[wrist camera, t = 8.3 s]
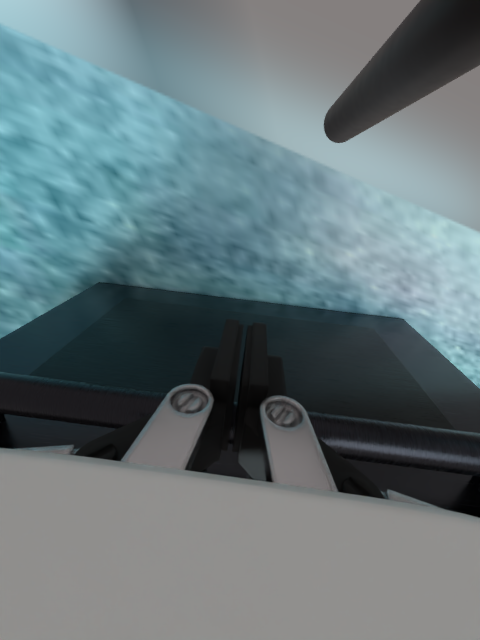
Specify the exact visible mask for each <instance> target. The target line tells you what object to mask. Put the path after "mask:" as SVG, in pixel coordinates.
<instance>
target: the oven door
mask: <svg viewBox="0 0 480 640" xmlns="http://www.w3.org/2000/svg"><path fill="white" fill-rule="evenodd" d="M226 319H233V320H239V324H244V328H243V336H242V343H241V351H240V359H239V367H238V374H237V382H236V390H235V397H234V405H233V412H232V419H231V427H230V434H229V442H228V449H227V451H223V450H221V455H220V461H219V460H218V461H216V462H215V463H213V464H212V465H210V466H209V467H208V470H207V473H209V474H216V475H223V476H230V477H237V478H244V479H247V471H246V470H245V469H244V468H243V467H242V466H241V465H240V463H237V458H238V453H237V452H232V448H233V439H234V430H235V421H236V412H237V403H238V394H239V385H240V377H241V370H242V362H243V355H244V348H245V341H246V334H247V327H248V325H252V326H253V322H256V323H263V324H266V330H267V355H274V356H281V357H282V360H283V368H284V375H285V383H286V391H287V397H289V398H292V399H294V400H295V401H297V402H299V403H300V404H301V405H302V406H303V407H304V409H305V410H306V412H307V414H308V417H309V419H310V422H311V424H312V427H313V429H314V432H315V434H316V436H317V437H318V438H320V439H321V440H322V441H323V442H325V443H326V444H327V445H328V446H330V447H331V448H332V449H333V450H334V451H336V452H337V453H338V454H339V455H341V456H342V457H343V458H344V459H346V460H347V461H348V462H349V463H350V464H352V465H353V466H354V467H355V468H357V469H358V470H359V471H360V472H361V473H363V474H364V475H365V476H366V477H368V478H369V479H370V480H371V481H372V482H373V483H374V484H375V485H376V486H377V487H378V488H379V490H380V491H382V492H384V493H385V491H386V490H387V489H389V490H392V491H395V492H397V493H400V494H403V495H406V496H409V497H412V498H414V499H417V500H420V501H423V502H426V503H429V504H431V505H434V506H437V507H440V508H443V509H446V510H449V511H453V512H458V513H463V514H467V515H471V516H475V517H478V518H480V389H479V388H478V387H477V386H476V385H475V384H474V383H473V382H472V381H470V380H469V379H468V378H467V377H466V376H465V375H464V374H463V373H462V372H461V371H459V370H458V369H457V368H456V367H455V366H454V365H453V364H452V363H451V362H450V361H449V360H447V359H446V358H445V357H444V356H443V355H442V354H441V353H440V352H439V351H438V350H437V349H435V348H434V347H433V346H432V345H431V344H430V343H429V342H428V341H427V340H426V339H424V338H423V337H422V336H421V335H420V334H419V333H418V332H417V331H416V330H415V329H414V328H412V327H411V326H410V325H409V324H408V323H407V322H406V321H405V320H404V319H398V318H389V317H381V316H373V315H365V314H356V313H348V312H340V311H332V310H323V309H315V308H307V307H298V306H290V305H282V304H274V303H265V302H257V301H249V300H241V299H232V298H224V297H216V296H208V295H199V294H191V293H183V292H175V291H166V290H158V289H150V288H141V287H133V286H125V285H117V284H108V283H100V282H99V283H97V284H95V285H93V286H92V287H90V288H88V289H87V290H85V291H83V292H81V293H80V294H78V295H76V296H74V297H73V298H71V299H69V300H67V301H66V302H64V303H62V304H60V305H59V306H57V307H55V308H53V309H52V310H50V311H48V312H46V313H45V314H43V315H41V316H39V317H38V318H36V319H34V320H32V321H31V322H29V323H27V324H26V325H24V326H22V327H20V328H19V329H17V330H15V331H13V332H12V333H10V334H8V335H6V336H5V337H3V338H1V339H0V448H6V449H15V448H31V447H46V446H62V445H74V448H75V449H80V448H81V447H82V446H84V445H85V444H87V443H89V442H90V441H92V440H94V439H96V438H99V437H101V436H103V435H105V434H107V433H110V432H112V431H114V430H116V429H118V428H121V427H123V426H125V425H127V424H130V423H132V422H134V421H136V420H138V419H141V418H143V417H145V416H147V415H149V414H152V413H154V412H155V411H156V410H157V408H158V407H159V405H160V404H161V402H162V401H163V399H164V398H165V397H166V395H167V394H168V393H169V392H170V391H171V390H172V389H173V388H175V387H177V386H180V385H183V384H189V382H190V380H191V377H192V374H193V372H194V369H195V366H196V364H197V361H198V358H199V356H200V353H201V350H202V348H203V346H208V347H215V348H219V345H220V341H221V337H222V334H223V330H224V326H225V322H226Z"/></svg>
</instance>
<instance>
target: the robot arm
mask: <svg viewBox="0 0 480 640" xmlns="http://www.w3.org/2000/svg"><path fill="white" fill-rule="evenodd" d="M243 328H244V324H239V320H233V319H226V322H225V326H224V330H223V334H222V337H221V341H220V345H219V348H215V347H208V346H203V348H202V350H201V353H200V356H199V358H198V361H197V364H196V366H195V369H194V372H193V374H192V377H191V380H190V382H189V384H183V385H180V386H177V387H175V388H173V389H172V390H171V391H170V392H169V393H168V394H167V395H166V397H165V398H164V399H163V401H162V402H161V404H160V405H159V407H158V408H157V410H156V411H155V412H154V413H152V414H149V415H147V416H145V417H143V418H141V419H138V420H136V421H134V422H132V423H130V424H127V425H125V426H123V427H121V428H118V429H116V430H114V431H112V432H110V433H107V434H105V435H103V436H101V437H99V438H96V439H94V440H92V441H90V442H89V443H87V444H85V445H84V446H82V447H81V448H80V449H75V448H74V445H62V446H46V447H31V448H15V449H6V448H0V640H480V518H478V517H475V516H471V515H467V514H463V513H458V512H453V511H449V510H446V509H443V508H440V507H437V506H434V505H431V504H429V503H426V502H423V501H420V500H417V499H414V498H412V497H409V496H406V495H403V494H400V493H397V492H395V491H392V490H389V489H387V490H386V491H385V493H384V492H382V491H380V490H379V488H378V487H377V486H376V485H375V484H374V483H373V482H372V481H371V480H370V479H369V478H368V477H366V476H365V475H364V474H363V473H361V472H360V471H359V470H358V469H357V468H355V467H354V466H353V465H352V464H350V463H349V462H348V461H347V460H346V459H344V458H343V457H342V456H341V455H339V454H338V453H337V452H336V451H334V450H333V449H332V448H331V447H330V446H328V445H327V444H326V443H325V442H323V441H322V440H321V439H320V438H318V437H317V436H316V434H315V432H314V429H313V427H312V424H311V422H310V419H309V417H308V414H307V412H306V410H305V409H304V407H303V406H302V405H301V404H300V403H299V402H297V401H295V400H294V399H292V398H289V397H287V391H286V383H285V375H284V368H283V360H282V357H281V356H274V355H267V330H266V324H263V323H256V322H253V326H252V325H248V327H247V334H246V341H245V348H244V355H243V362H242V370H241V377H240V385H239V394H238V403H237V412H236V421H235V430H234V439H233V448H232V452H237V453H238V458H237V463H240V465H241V466H242V467H243V468H244V469H245V470H246V471H247V479H244V478H237V477H230V476H223V475H216V474H209V473H207V470H208V467H209V466H210V465H212V464H213V463H215V462H216V461H218V460H219V461H220V455H221V450H223V451H227V449H228V442H229V434H230V427H231V419H232V412H233V405H234V397H235V390H236V382H237V374H238V367H239V359H240V351H241V343H242V336H243Z"/></svg>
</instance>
